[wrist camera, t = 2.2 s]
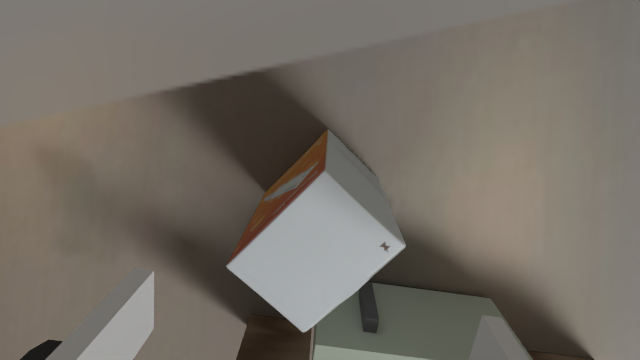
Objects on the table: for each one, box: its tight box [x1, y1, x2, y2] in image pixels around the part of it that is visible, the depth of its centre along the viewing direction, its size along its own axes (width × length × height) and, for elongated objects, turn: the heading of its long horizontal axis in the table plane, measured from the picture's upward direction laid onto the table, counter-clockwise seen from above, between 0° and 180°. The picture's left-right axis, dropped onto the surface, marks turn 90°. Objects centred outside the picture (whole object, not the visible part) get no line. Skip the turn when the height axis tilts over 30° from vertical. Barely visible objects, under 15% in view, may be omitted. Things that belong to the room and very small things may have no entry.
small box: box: [226, 129, 406, 333], centre depth 27 cm, size 8×6×13 cm
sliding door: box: [312, 282, 533, 360], centre depth 31 cm, size 16×3×9 cm, turn 82°
